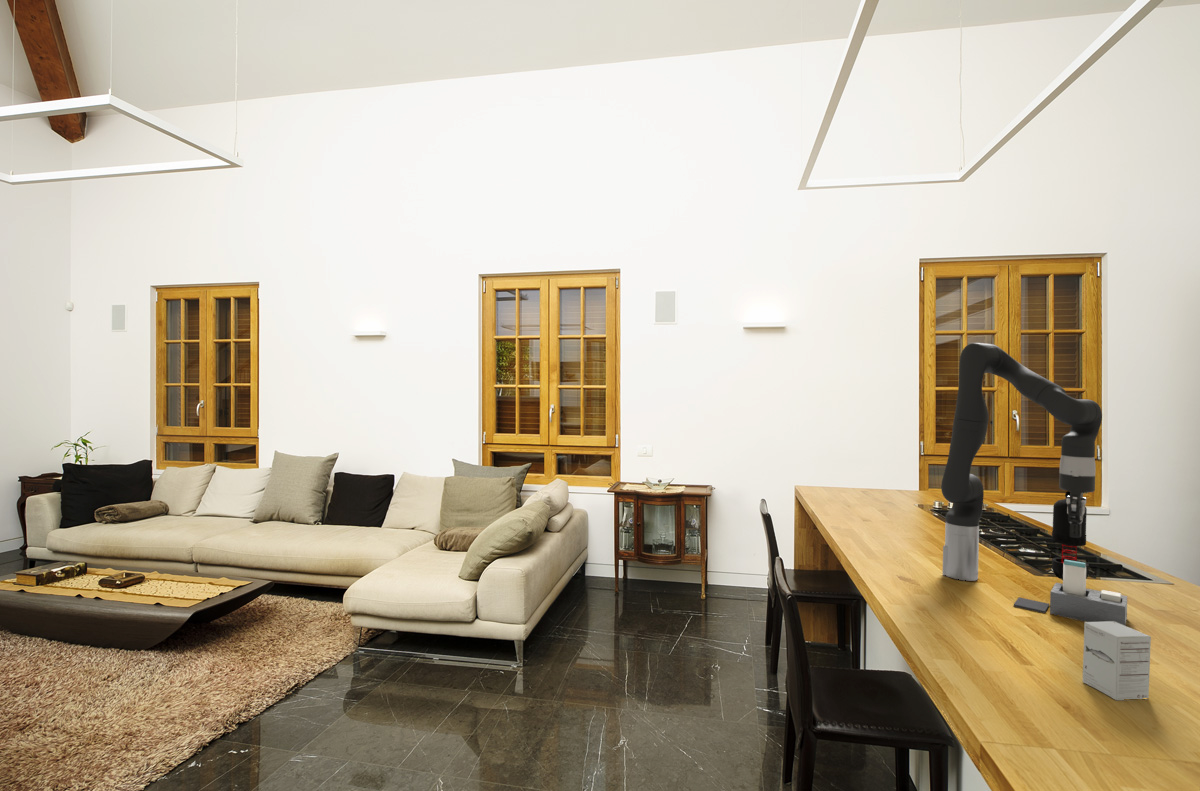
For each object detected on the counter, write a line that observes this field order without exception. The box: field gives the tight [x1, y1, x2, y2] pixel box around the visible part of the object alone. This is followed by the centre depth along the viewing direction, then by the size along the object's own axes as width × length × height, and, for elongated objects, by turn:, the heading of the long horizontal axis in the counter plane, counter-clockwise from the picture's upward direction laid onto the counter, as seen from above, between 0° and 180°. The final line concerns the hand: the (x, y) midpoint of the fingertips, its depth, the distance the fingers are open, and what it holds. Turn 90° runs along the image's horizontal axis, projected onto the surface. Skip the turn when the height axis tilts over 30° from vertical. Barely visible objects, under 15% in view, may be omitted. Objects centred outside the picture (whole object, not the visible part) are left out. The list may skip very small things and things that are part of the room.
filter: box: [1051, 490, 1090, 581], centre depth 181 cm, size 14×9×30 cm
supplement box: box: [1082, 621, 1152, 701], centre depth 116 cm, size 7×7×13 cm
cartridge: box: [1062, 560, 1087, 596], centre depth 157 cm, size 5×5×14 cm
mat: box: [1013, 597, 1050, 614], centre depth 162 cm, size 7×8×1 cm
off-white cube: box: [1100, 589, 1122, 602], centre depth 152 cm, size 4×4×5 cm
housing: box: [1049, 582, 1128, 626], centre depth 155 cm, size 15×11×6 cm
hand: (1075, 536), depth 157 cm, fingers closed
